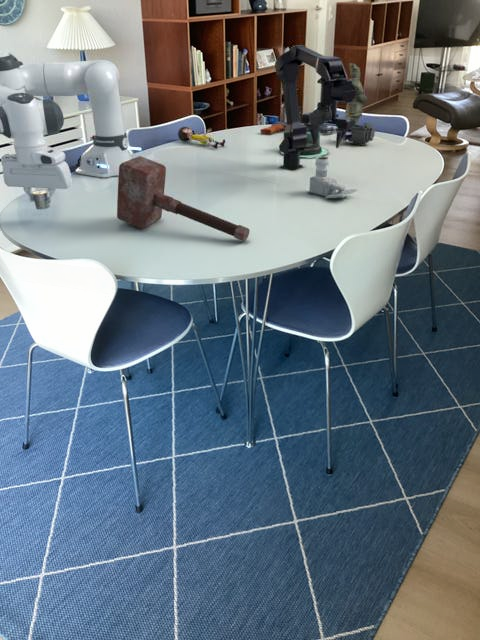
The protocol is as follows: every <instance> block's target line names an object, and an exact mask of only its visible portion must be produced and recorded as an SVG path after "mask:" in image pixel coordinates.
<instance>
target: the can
mask: <svg viewBox="0 0 480 640" xmlns="http://www.w3.org/2000/svg"><path fill="white" fill-rule="evenodd" d="M32 193H33V197H34V202H33V203H34V206H35V209H37V210H46V209H49V208H50V207H51V203H49V202H47V200H46V197H47V196H48V195H49V192H48V190H45V189H40V190H35V191H32Z"/></svg>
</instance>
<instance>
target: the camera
mask: <svg viewBox="0 0 480 640" xmlns="http://www.w3.org/2000/svg"><path fill="white" fill-rule="evenodd" d="M329 165H330V157H329V156H326V155H322V156H317V157H315V175H313V176H311V177H309V191H308V192H309V193H311V194H313V195H318V196H321V197H325V199H338V198H345V197H347V196H349V195H351V194H354V193H356V192H358V191H359V190H358V189H357V188H353V189H346V186H345V185H342V184H338V181H337V179H335V178H330V177H328V167H329Z"/></svg>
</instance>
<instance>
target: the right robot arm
mask: <svg viewBox="0 0 480 640" xmlns="http://www.w3.org/2000/svg"><path fill="white" fill-rule="evenodd" d="M303 64H305V65H308V66H310V67H311V68H314V69H315V72H316V74H318V75H319V76H320V78H319V79H318V80H317V81H316V82H317V84H320V96H319V101H318V102H317V105H316V106H317V107H316V108H315V109H313V110H312V111H311V112H307V113H303V114H302V115H301V117H300V109H299V100H298V91H297V79H298V77H299V74H300V68H301V66H302V65H303ZM274 69H275V74H276V77H277V79H278V81H280V83H281V86H282V94H283V101H284V103H283V104H284V110H285V119H286V121H285V122H287V126H286V129H285V131H284V130H283V139H282V141H281V142H280V144H278V149H279V153H281V152H283V153H284V154H283V159H282V160H283V161H282V162H283V163H282V165H280V166H279V167H280V168H281V169H287V170H291V171H295V170H297V169H300V168H304V165H303V164H301V157H300V151H304V150H305V146H306V143H307V138H308V137H307V129H306V127H303V126H302V125H301V123H305V124H304V125H305V126H307V127H308V128H309V130H310V133H311V136H312V139H313V143H314V144H317V140H318V132H319V126H320V125H324V124H330V125H335V126H336V128H334V131H335V132H336V138H335V148H336V149H339V147H340V146H341V144H342V142H343V138H344V136H345V134H346V133H347V131H348V129H351V127H354V126H355V120H354V118H350V117H346V116H343V117H340V118H339V113H337V111H338V106H339V105H340V102H342V103H346V104H347V103H350V102H351V101H353V99H354V98H355V95H356V89H355V86H354V85H353V84H352V80H350V79H349V77H348V73H347V72H346V71H347V70H346V69H345V66H344V64H343V59H342V58H341V57H339V56H330V55H323V54H321V53H319V52H318V51H315V50H313V49H311V48H309V47H307V46H306V45H302V44H300V45H299V44H298V45H293V46H291V47H290V49H288V50H287V51H286V52H283V53H282V54H281V55H280V56H278V57H277V58H276V60H275V62H274Z"/></svg>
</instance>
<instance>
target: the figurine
mask: <svg viewBox="0 0 480 640" xmlns="http://www.w3.org/2000/svg"><path fill="white" fill-rule="evenodd" d="M210 132H212V128H209V129H207V130H206V132H205V133H204V134H202V135H201V134H198V133H195V130H193V129H191V128H189V127H188V126H182V127H180V128H179V129H178V132H177V137H178V139H179V141H182V142H191V141H192V140H194V141H198V142H200V143H201V144H203V145H204V146H210V147H212V148H214V149H215V150H216V149H218V145H219V146H221V147H225V144H226V139H222V141H218V140H216V139H215V138H213V137H212V136H207V135H208V134H209V133H210Z"/></svg>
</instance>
